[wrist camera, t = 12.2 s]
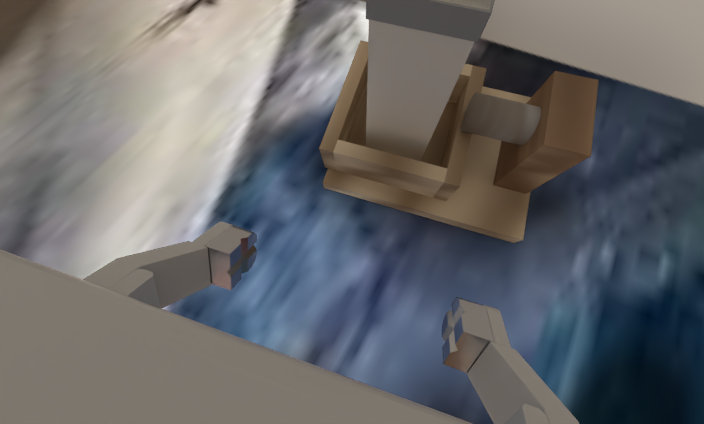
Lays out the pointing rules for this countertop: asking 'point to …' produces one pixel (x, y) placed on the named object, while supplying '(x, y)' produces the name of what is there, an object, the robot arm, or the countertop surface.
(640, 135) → the countertop surface
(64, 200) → the countertop surface
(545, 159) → the shaft seat
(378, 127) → the block
